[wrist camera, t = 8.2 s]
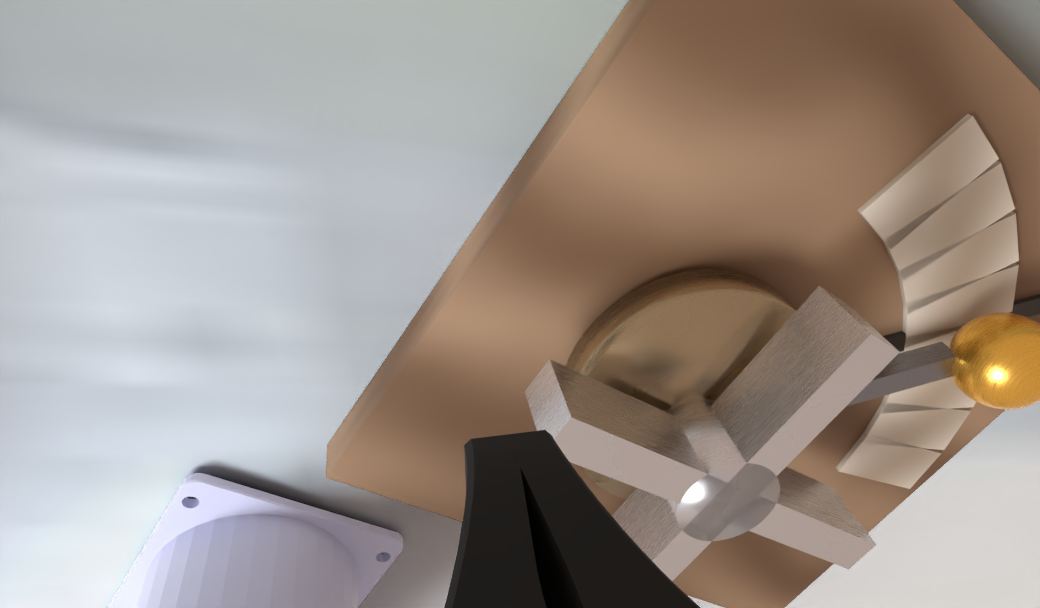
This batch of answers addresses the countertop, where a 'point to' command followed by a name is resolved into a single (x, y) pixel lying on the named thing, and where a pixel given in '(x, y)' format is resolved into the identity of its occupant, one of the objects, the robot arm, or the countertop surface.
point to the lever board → (736, 240)
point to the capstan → (745, 406)
